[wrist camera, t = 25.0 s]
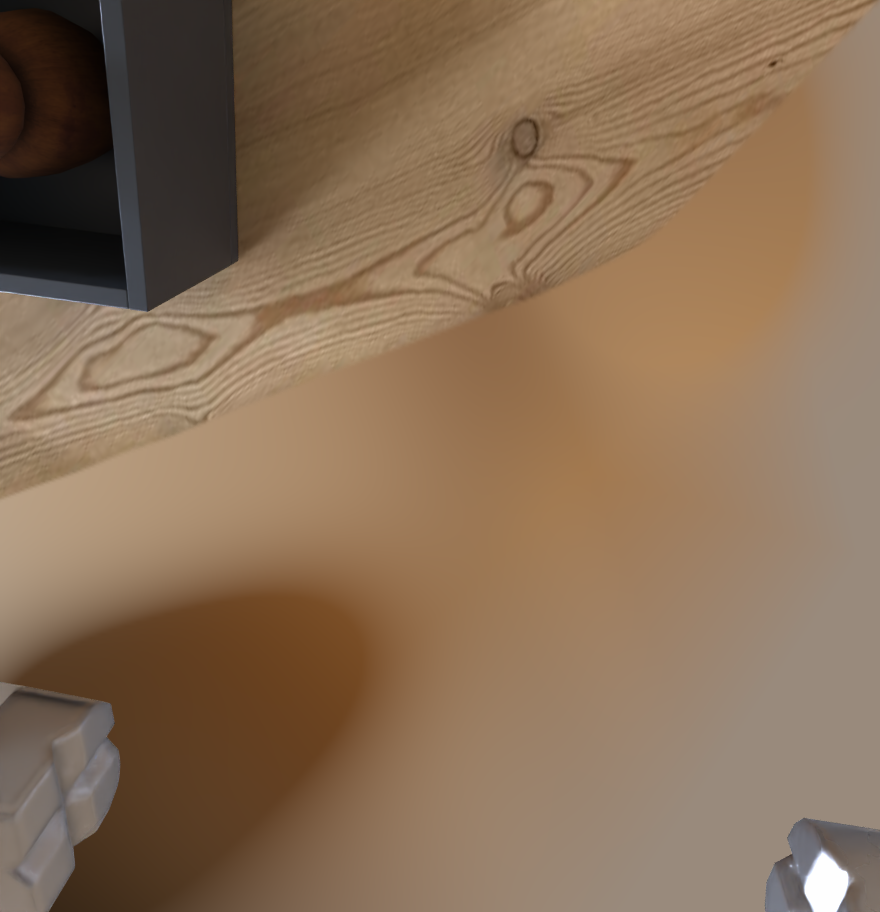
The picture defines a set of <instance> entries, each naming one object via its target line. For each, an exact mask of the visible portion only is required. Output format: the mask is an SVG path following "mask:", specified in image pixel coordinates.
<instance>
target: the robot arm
mask: <svg viewBox="0 0 880 912" xmlns="http://www.w3.org/2000/svg"><path fill="white" fill-rule="evenodd" d="M114 724H115V723H114V718H113V713H112V708H111V704H109V703H106V702H102V701H97V700H92V699H87V698H82V697H77V696H71V695H66V694H61V693H56V692H51V691H46V690H41V689H36V688H31V687H26V686H19V685H14V684H8V683H3V682H0V912H48V911H49V910H50V908H51V906H52V905H53V903H54V901H55V900H56V898H57V896H58V895H59V893H60V891H61V890H62V888H63V886H64V885H65V883H66V881H67V880H68V878H69V876H70V875H71V873H72V871H73V870H74V868H75V863H74V854H73V846H75V845H76V844H78V843H79V842H81V841H83V840H84V839H86V838H87V837H89V836H90V835H91V834H93V833H95V832H96V831H97V829H98V827H99V826H100V824H101V822H102V821H103V819H104V817H105V815H106V814H107V812H108V810H109V808H110V805H111V802H112V799H113V797H114V794H115V791H116V788H117V785H118V780H119V771H120V759H119V752H118V749H117V748H116V747H115V746H114V745H113V744H112V743H111V742H110V740H109V739H108V738H107V737H106V736H107V735H108V733H109V731H110V730H111V728H112V727H113V725H114ZM787 838H788V842H789V845H790V848H791V851H792V854H791V855H789V856H787V857H786V858H784V859H782V860H780V861H778V862H776V863H775V864H774V867H773V869H772V871H771V873H770V876H769V878H768V880H767V885H766V899H765V912H880V830H878V829H871V828H865V827H859V826H853V825H846V824H839V823H833V822H827V821H820V820H813V819H807V818H803V819H801V820H800V821H798V822H796V823H795V824H794V826H793V828H792V830H791V832H790V834H789V836H788V837H787Z"/></svg>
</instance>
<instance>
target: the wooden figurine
mask: <svg viewBox="0 0 880 912" xmlns="http://www.w3.org/2000/svg"><path fill="white" fill-rule="evenodd" d="M113 147H114V146H113V135H112V125H111V115H110V105H109V94H108V84H107V74H106V63H105V53H104V46H103V45H102V43H101V42H100V41H99V40H98V39H97V38H96V37H95V36H94V35H93V34H92V33H91V32H89V31H87V30H86V29H84V28H82V27H80V26H78V25H76V24H74V23H73V22H71V21H69V20H67V19H65V18H63V17H61V16H60V15H58V14H56V13H54V12H52V11H49V10H43V9H38V8H30V9H20V10H13V11H6V12H0V176H3V177H6V178H30V177H39V176H47V175H53V174H59V173H62V172H65V171H67V170H70V169H73V168H75V167H78V166H81V165H83V164H86V163H89V162H91V161H93V160H95V159H96V158H98V157H100V156H101V155H103V154H105V153H106V152H108V151H109V150H111V149H112V148H113Z"/></svg>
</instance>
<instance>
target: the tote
mask: <svg viewBox="0 0 880 912" xmlns="http://www.w3.org/2000/svg"><path fill="white" fill-rule="evenodd" d="M30 8H38V9H43V10H49V11H52V12H54V13H56V14H58V15H60V16H61V17H63V18H65V19H67V20H69V21H71V22H73V23H74V24H76V25H78V26H80V27H82V28H84V29H86V30H87V31H89V32H91V33H92V34H93V35H94V36H95V37H96V38H97V39H98V40H99V41H100V42H101V43H102V45H103V46H104V53H105V63H106V74H107V84H108V94H109V105H110V115H111V125H112V135H113V146H114V147H113V148H112V149H111V150H109V151H108V152H106V153H105V154H103V155H101V156H100V157H98V158H96V159H95V160H93V161H91V162H89V163H86V164H83V165H81V166H78V167H75V168H73V169H70V170H67V171H65V172H62V173H59V174H53V175H47V176H39V177H30V178H6V177H3V176H0V292H6V293H14V294H21V295H28V296H36V297H43V298H51V299H58V300H65V301H73V302H80V303H88V304H95V305H103V306H110V307H117V308H125V309H131V310H139V311H146V312H148V311H150V310H152V309H154V308H155V307H157V306H159V305H161V304H162V303H164V302H166V301H168V300H170V299H171V298H173V297H175V296H177V295H179V294H180V293H182V292H184V291H186V290H187V289H189V288H191V287H193V286H195V285H196V284H198V283H200V282H202V281H203V280H205V279H207V278H209V277H211V276H212V275H214V274H216V273H218V272H220V271H221V270H223V269H225V268H227V267H228V266H230V265H232V264H234V263H235V262H237V261H238V231H237V193H236V155H235V117H234V79H233V41H232V3H231V0H0V12H6V11H13V10H20V9H30Z"/></svg>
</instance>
